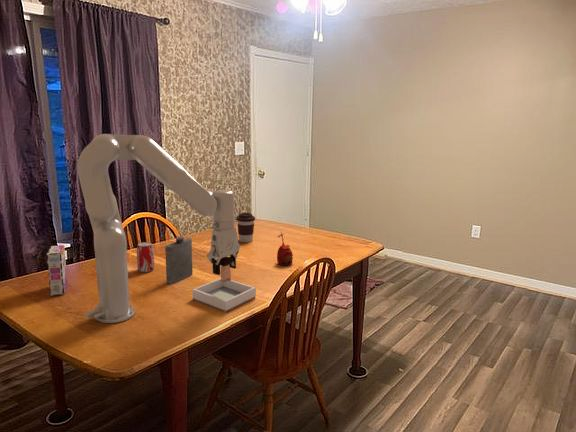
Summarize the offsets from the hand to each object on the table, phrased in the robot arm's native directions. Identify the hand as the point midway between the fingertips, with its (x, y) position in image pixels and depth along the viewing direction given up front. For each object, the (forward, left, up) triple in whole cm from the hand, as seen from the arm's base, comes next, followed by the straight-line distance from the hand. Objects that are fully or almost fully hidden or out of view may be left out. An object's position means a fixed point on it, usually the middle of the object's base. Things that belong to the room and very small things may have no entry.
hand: (224, 270), depth 160 cm
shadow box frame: (0, 0, -11) cm, 11 cm away
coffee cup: (+62, +44, -11) cm, 77 cm away
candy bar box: (-34, +54, -11) cm, 65 cm away
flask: (+3, +28, -11) cm, 30 cm away
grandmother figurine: (0, 0, -4) cm, 4 cm away
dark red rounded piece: (+46, +6, -11) cm, 48 cm away
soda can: (0, +47, -11) cm, 48 cm away
